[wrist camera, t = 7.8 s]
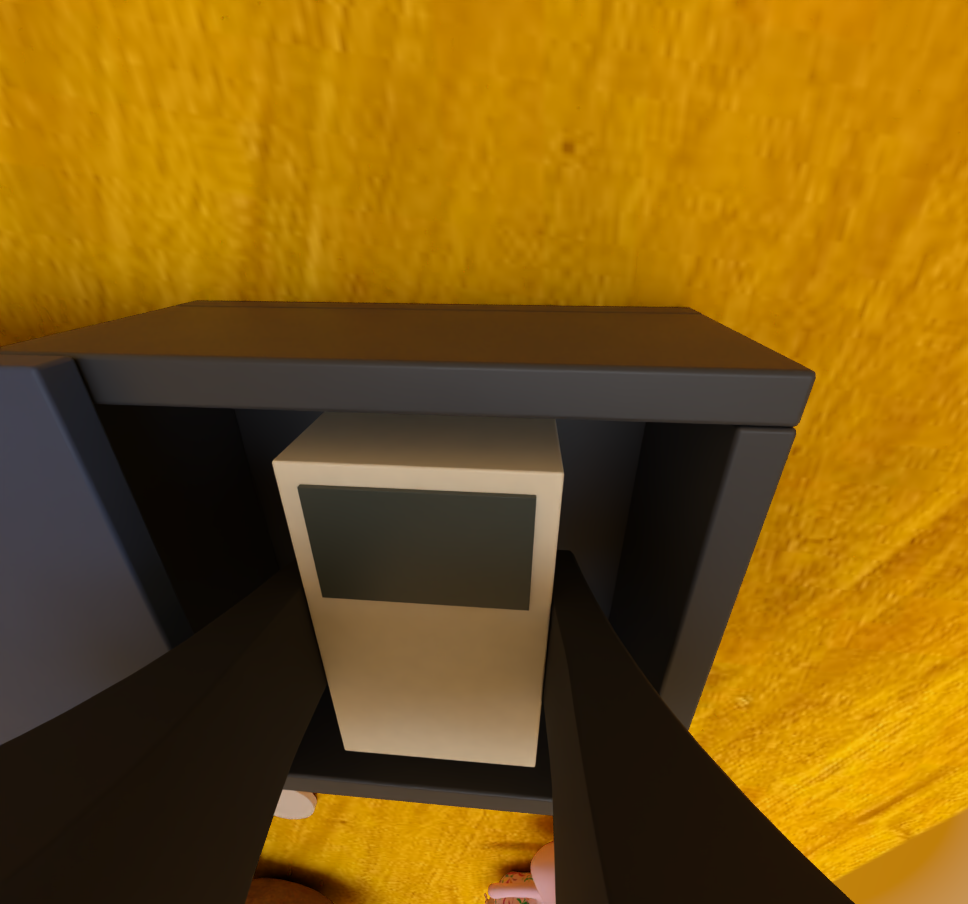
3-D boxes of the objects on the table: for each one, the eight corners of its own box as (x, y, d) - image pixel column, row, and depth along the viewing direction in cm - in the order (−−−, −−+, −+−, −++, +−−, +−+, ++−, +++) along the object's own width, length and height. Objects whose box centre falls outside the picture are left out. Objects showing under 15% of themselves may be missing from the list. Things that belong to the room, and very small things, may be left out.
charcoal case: (617, 657, 15) (654, 827, 11) (292, 634, 16) (208, 783, 12) (692, 307, 10) (820, 371, 6) (195, 299, 11) (-25, 351, 6)
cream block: (532, 645, 13) (535, 772, 10) (384, 634, 14) (342, 755, 11) (551, 394, 10) (565, 476, 6) (346, 389, 10) (266, 464, 7)
